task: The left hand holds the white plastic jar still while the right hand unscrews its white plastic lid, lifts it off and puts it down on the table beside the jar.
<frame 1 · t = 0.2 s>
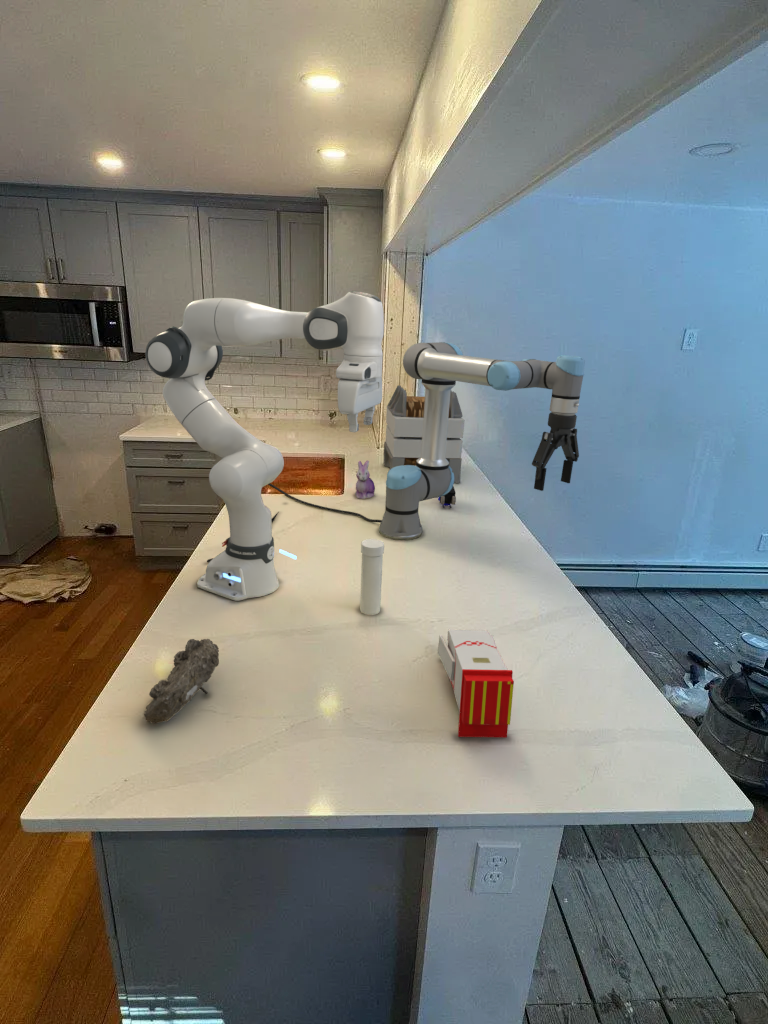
left hand: (361, 428, 134), 48 cm above the counter, tool pointing down, fingers open, 8 cm apart
right hand: (552, 485, 166), 28 cm above the counter, tool pointing down, fingers open, 13 cm apart
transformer: (419, 473, 275), on the counter
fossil: (189, 692, 115), on the counter
figurine: (364, 496, 238), on the counter
feather: (277, 515, 212), on the counter
lid: (372, 544, 143), point 19 cm above the counter, screwed on, not yet turned
toy: (469, 691, 119), on the counter
jar: (370, 609, 149), on the counter
figurine character: (445, 504, 232), on the counter
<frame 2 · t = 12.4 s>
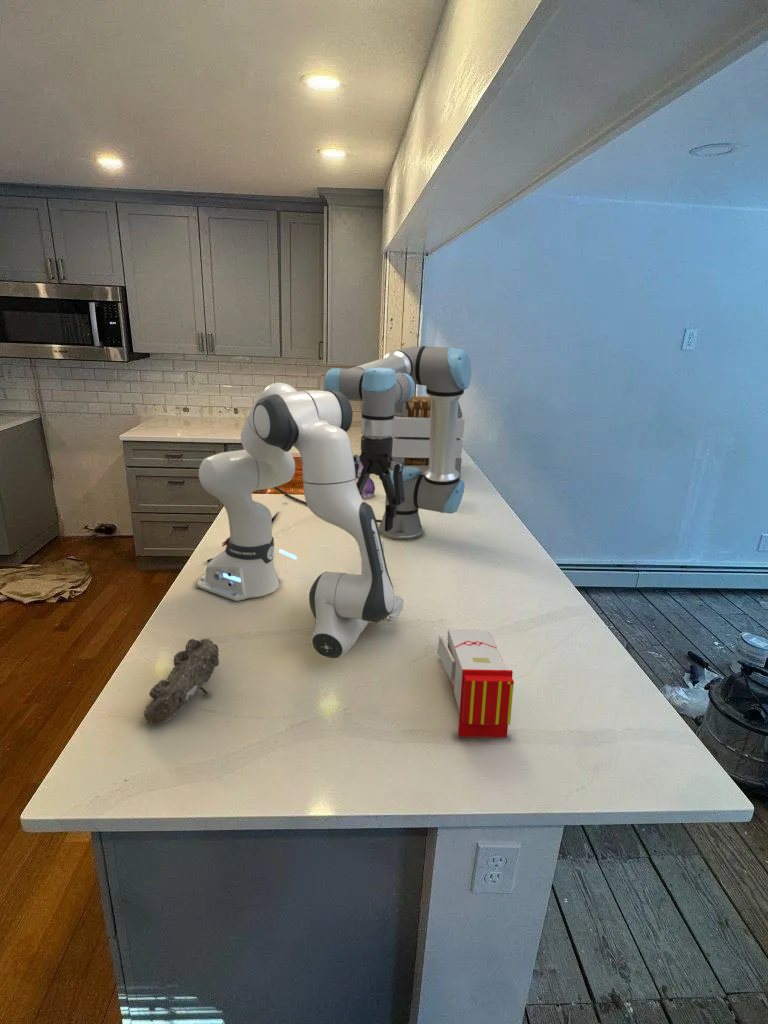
left hand: (372, 587, 148), 6 cm above the counter, tool horizontal, fingers closed on jar, 5 cm apart
right hand: (373, 525, 141), 24 cm above the counter, tool pointing down, fingers open, 8 cm apart
jar: (370, 609, 149), on the counter, touching left hand
everything else where it was.
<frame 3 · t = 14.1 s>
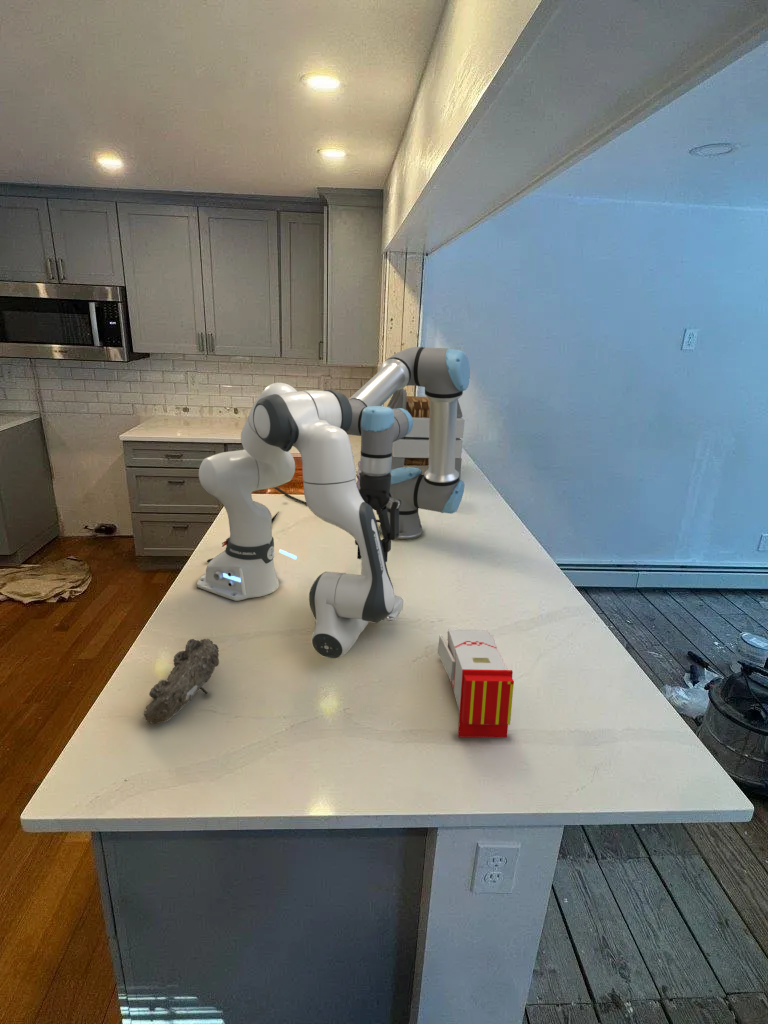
left hand: (372, 587, 148), 6 cm above the counter, tool horizontal, fingers closed on jar, 5 cm apart
right hand: (372, 559, 144), 14 cm above the counter, tool pointing down, fingers closed on lid, 6 cm apart
lid: (372, 544, 143), point 19 cm above the counter, screwed on, not yet turned, touching right hand
jar: (370, 609, 149), on the counter, touching left hand
everything else where it was.
when the right hand's fingers open (15 cm above the counter, at t = 15.7 s): lid stays where it is, point 19 cm above the counter.
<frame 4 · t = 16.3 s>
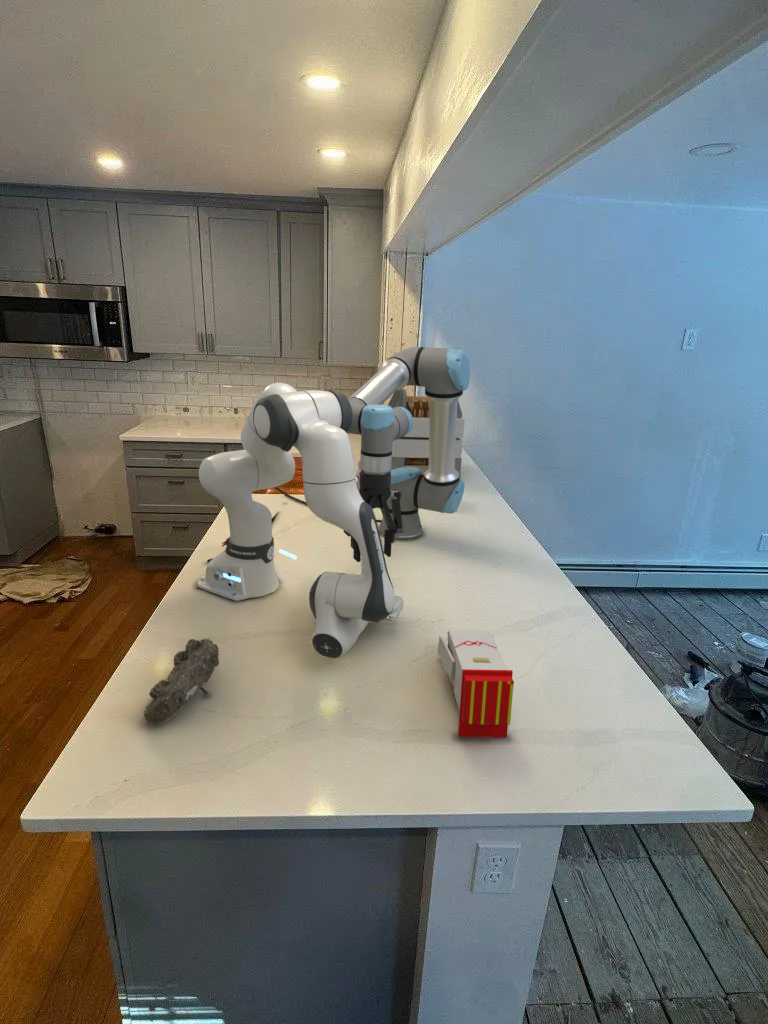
left hand: (372, 587, 148), 6 cm above the counter, tool horizontal, fingers closed on jar, 5 cm apart
right hand: (372, 557, 144), 15 cm above the counter, tool pointing down, fingers open, 8 cm apart
lid: (372, 543, 143), point 19 cm above the counter, turned 106° so far, risen 0.3 cm, still on its thread
jar: (370, 609, 149), on the counter, touching left hand
everything else where it was.
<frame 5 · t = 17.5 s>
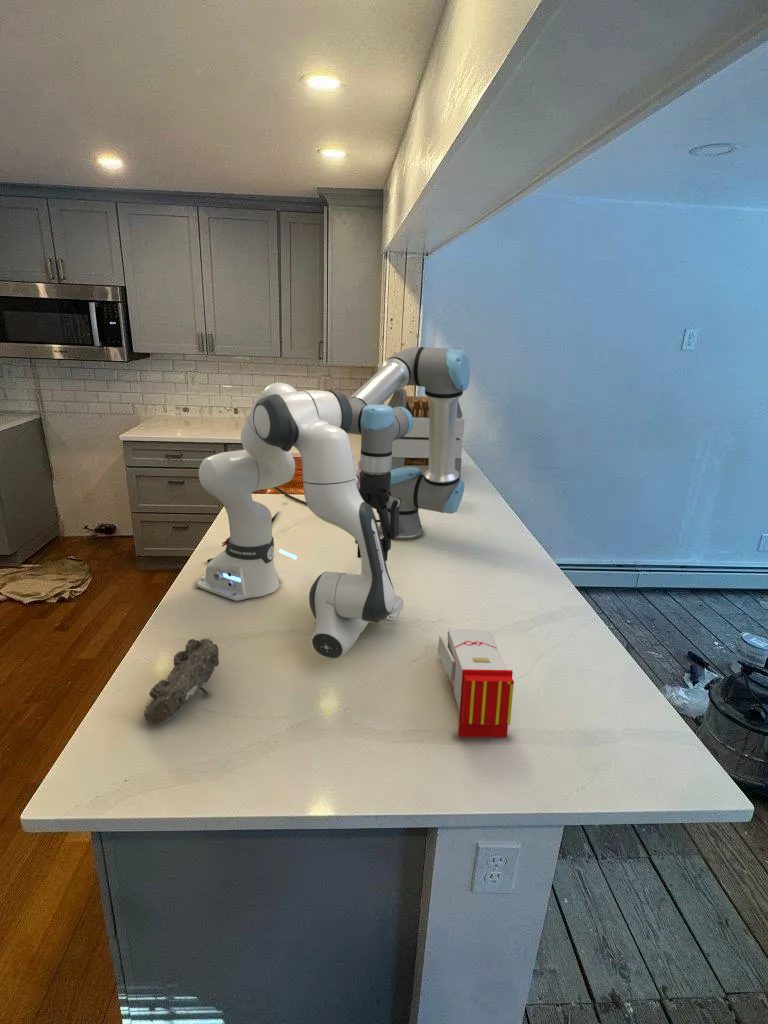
left hand: (372, 587, 148), 6 cm above the counter, tool horizontal, fingers closed on jar, 5 cm apart
right hand: (372, 558, 144), 15 cm above the counter, tool pointing down, fingers closed on lid, 6 cm apart
lid: (372, 543, 143), point 19 cm above the counter, turned 106° so far, risen 0.3 cm, still on its thread, touching right hand
jar: (370, 609, 149), on the counter, touching left hand
everything else where it was.
when the right hand's fingers open (0 cm above the counter, at t = 24.2 s): lid drops 2 cm, point 2 cm above the counter.
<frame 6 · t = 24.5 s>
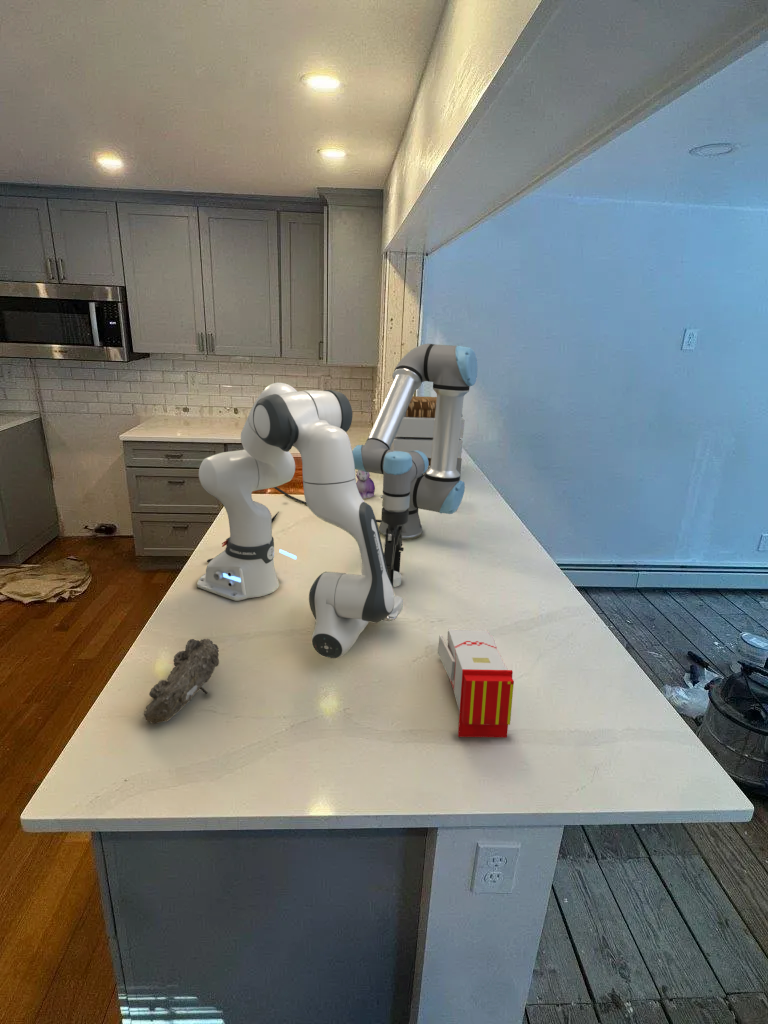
left hand: (371, 587, 148), 6 cm above the counter, tool horizontal, fingers closed on jar, 5 cm apart
right hand: (391, 579, 164), 1 cm above the counter, tool pointing down, fingers open, 10 cm apart
lid: (391, 575, 164), point 2 cm above the counter, off its thread
jar: (370, 609, 149), on the counter, touching left hand
everything else where it was.
when the left hand's fingers open (6 cm above the counter, at t = 25.4 s): jar stays where it is, on the counter.
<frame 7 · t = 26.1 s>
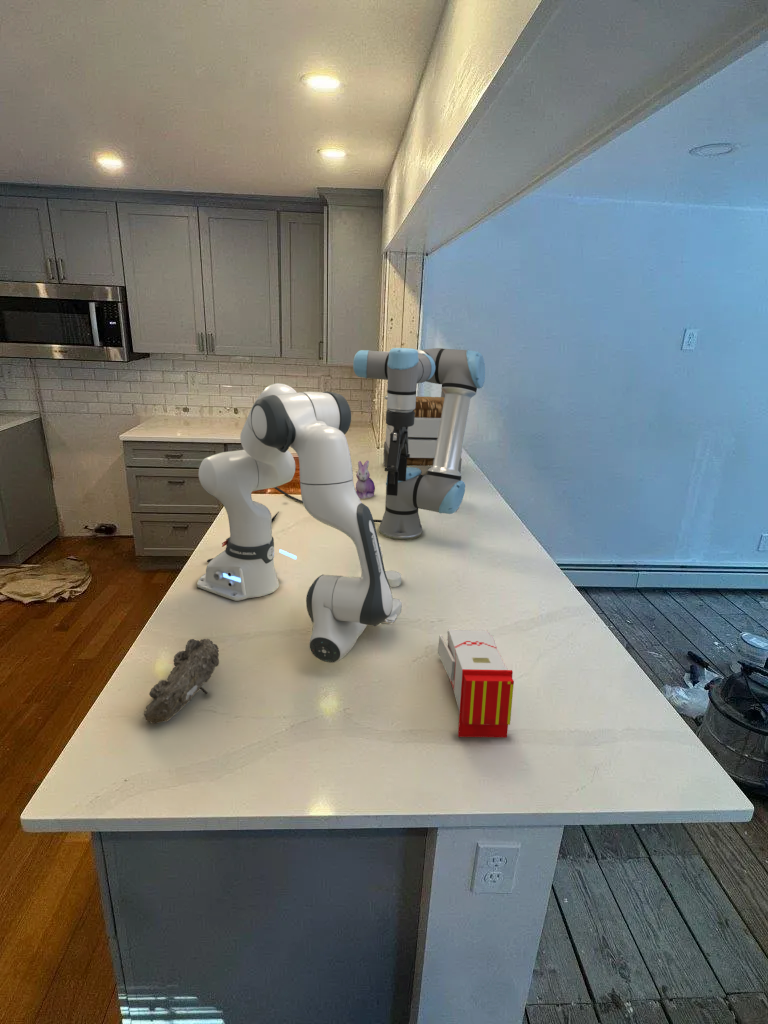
left hand: (370, 590, 146), 6 cm above the counter, tool horizontal, fingers open, 8 cm apart
right hand: (396, 487, 155), 29 cm above the counter, tool pointing down, fingers open, 13 cm apart
jar: (370, 609, 149), on the counter
everything else where it was.
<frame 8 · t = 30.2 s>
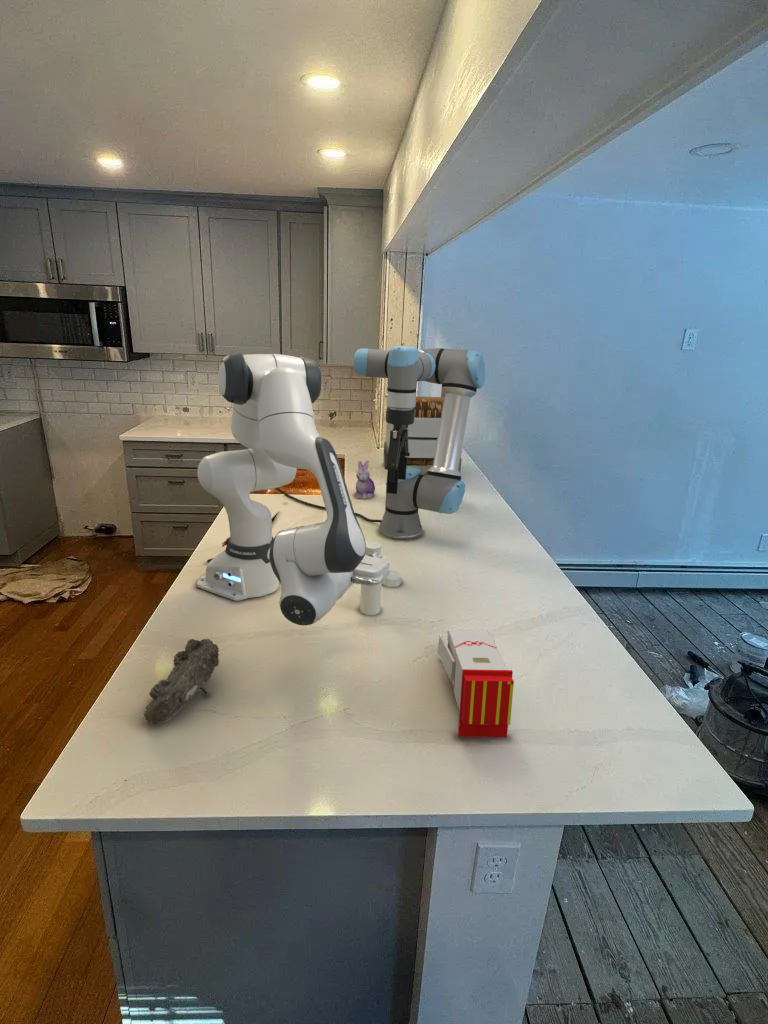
left hand: (354, 551, 130), 22 cm above the counter, tool horizontal, fingers open, 8 cm apart
right hand: (396, 486, 155), 29 cm above the counter, tool pointing down, fingers open, 13 cm apart
nothing on the counter moved.
at the end: lid came off its thread; lid point 2.1 cm above the counter; the left hand is holding nothing; the right hand is holding nothing; jar tilted 0°; jar moved 0.0 cm from its start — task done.
